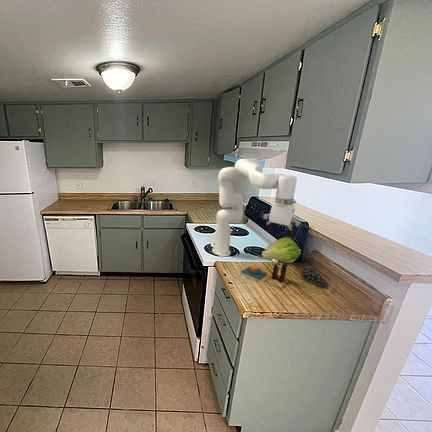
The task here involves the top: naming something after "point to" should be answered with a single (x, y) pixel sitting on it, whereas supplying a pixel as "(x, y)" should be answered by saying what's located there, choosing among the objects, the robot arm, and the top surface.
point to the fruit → (313, 276)
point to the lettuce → (282, 250)
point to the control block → (253, 272)
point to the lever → (276, 263)
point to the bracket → (283, 272)
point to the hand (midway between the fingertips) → (278, 234)
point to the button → (254, 268)
